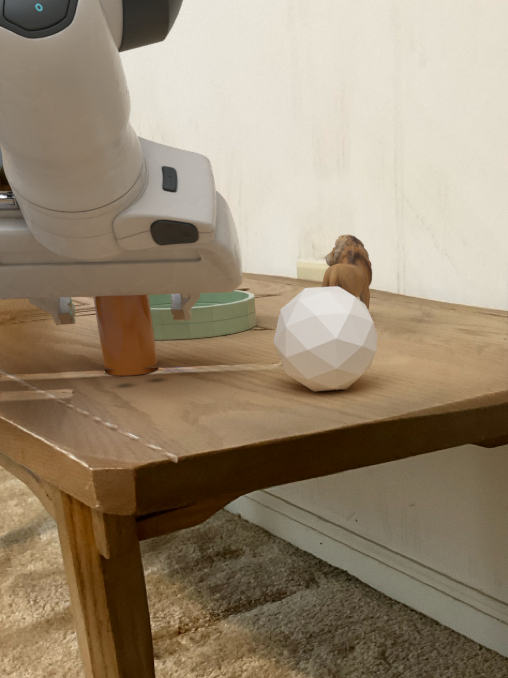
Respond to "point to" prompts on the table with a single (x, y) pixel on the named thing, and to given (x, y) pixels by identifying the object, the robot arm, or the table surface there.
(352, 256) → the lion figurine
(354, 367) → the geometric ball
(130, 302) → the spice jar
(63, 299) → the robot arm
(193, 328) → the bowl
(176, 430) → the table surface
